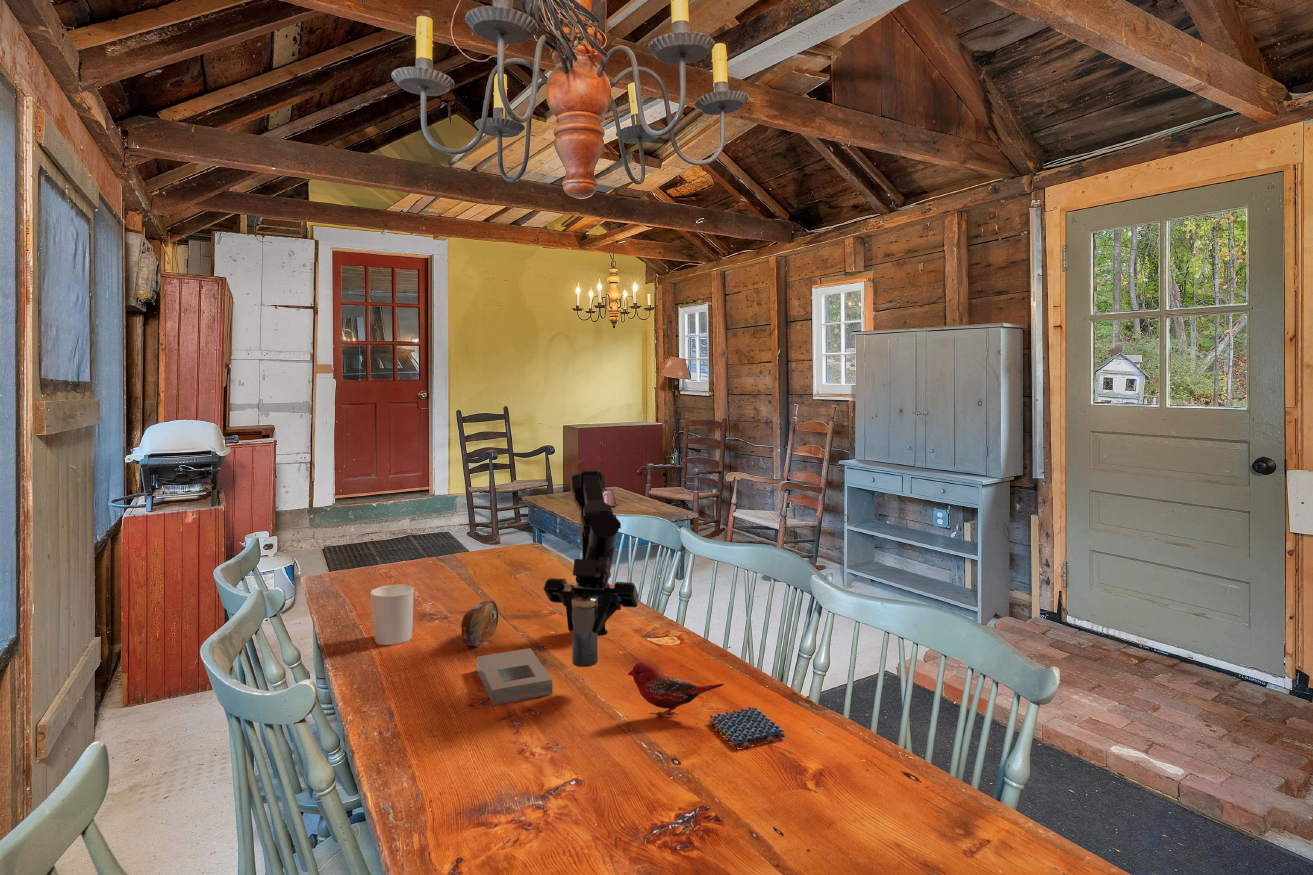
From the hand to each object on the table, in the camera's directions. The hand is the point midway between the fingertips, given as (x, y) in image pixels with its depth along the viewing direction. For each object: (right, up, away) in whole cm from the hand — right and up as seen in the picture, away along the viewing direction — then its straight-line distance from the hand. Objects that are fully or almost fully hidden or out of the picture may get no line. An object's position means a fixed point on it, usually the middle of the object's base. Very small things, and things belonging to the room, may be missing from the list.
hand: (582, 631), depth 133 cm
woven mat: (+30, -14, -14) cm, 36 cm away
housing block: (-15, -12, +7) cm, 20 cm away
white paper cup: (-49, -11, +31) cm, 59 cm away
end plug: (0, -6, +2) cm, 7 cm away
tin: (-28, -11, +30) cm, 43 cm away
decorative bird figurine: (+18, -13, -8) cm, 24 cm away
